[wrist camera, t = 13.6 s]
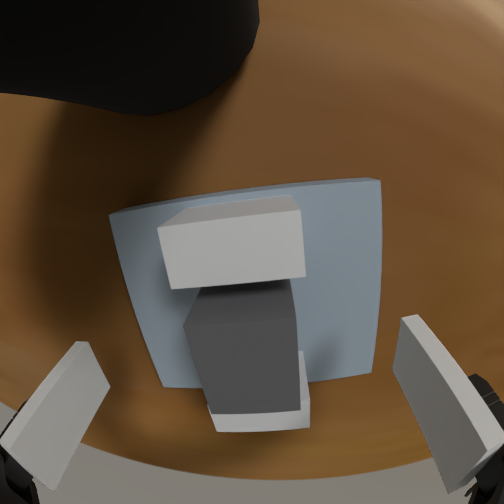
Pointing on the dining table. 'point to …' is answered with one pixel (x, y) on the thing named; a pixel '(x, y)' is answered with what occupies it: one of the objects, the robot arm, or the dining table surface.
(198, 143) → the dining table surface
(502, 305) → the dining table surface
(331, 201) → the board
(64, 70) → the coffee jar
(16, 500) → the robot arm
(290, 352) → the dark gray block
